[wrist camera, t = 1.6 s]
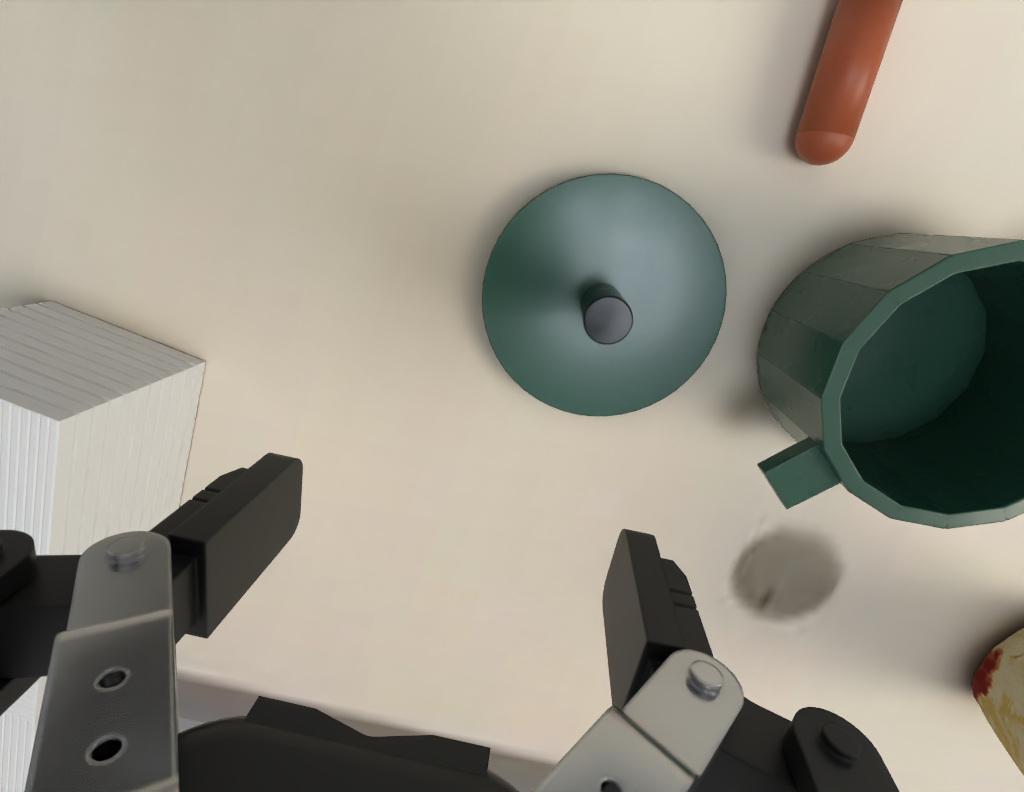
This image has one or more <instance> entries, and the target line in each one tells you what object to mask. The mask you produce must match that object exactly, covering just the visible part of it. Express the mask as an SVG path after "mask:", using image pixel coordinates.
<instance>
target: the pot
mask: <svg viewBox="0 0 1024 792" xmlns="http://www.w3.org/2000/svg"><path fill="white" fill-rule="evenodd" d="M757 373H758V379H759V385H760V388H761V391H762V394H763V397H764V399H765V401H766V403H767V405H768V407H769V408H770V410H771V411H772V412H773V414H774V415H775V417H776V418H777V419H778V421H779V423H780V424H781V426H782V427H783V428H784V429H785V430H786V431H787V432H788V433H789V434H790V435H791V436H792V437H793V438H794V439H795V440H796V441H797V442H798V443H796V444H794V445H792V446H790V447H788V448H787V449H785V450H783V451H781V452H779V453H777V454H775V455H773V456H771V457H769V458H768V459H766V460H764V461H762V462H760V463H758V464H757V465H758V467H759V468H760V470H761V471H762V473H763V475H764V476H765V478H766V479H767V481H768V482H769V484H770V486H771V487H772V489H773V490H774V492H775V493H776V495H777V497H778V498H779V500H780V501H781V502H782V504H783V505H784V506H785V508H786V509H789V508H791V507H793V506H795V505H797V504H799V503H801V502H803V501H805V500H807V499H809V498H811V497H813V496H815V495H817V494H819V493H821V492H823V491H825V490H827V489H829V488H831V487H833V486H835V485H837V484H839V483H840V484H842V485H843V486H844V487H845V488H846V489H847V490H848V491H849V492H850V493H852V494H853V495H855V496H856V497H858V498H859V499H861V500H862V501H864V502H866V503H867V504H869V505H870V506H872V507H873V508H875V509H876V510H878V511H879V512H881V513H883V514H884V515H886V516H887V517H889V518H892V519H896V520H901V521H907V522H912V523H917V524H922V525H928V526H933V527H938V528H943V529H944V528H946V529H949V528H957V527H964V526H972V525H979V524H987V523H995V522H1002V521H1005V520H1009V519H1011V518H1013V517H1016V516H1018V515H1020V514H1023V513H1024V240H1017V239H999V238H981V237H963V236H945V235H926V234H908V233H899V234H894V235H889V236H881V237H875V238H869V239H865V240H862V241H858V242H855V243H852V244H849V245H847V246H844V247H842V248H839V249H837V250H835V251H833V252H832V253H830V254H828V255H826V256H824V257H822V258H821V259H820V260H818V261H817V262H815V263H814V264H812V265H811V266H810V267H808V268H807V269H806V270H805V271H804V272H802V273H801V274H800V275H799V276H798V277H797V278H796V279H795V280H794V281H793V282H792V283H791V284H790V285H789V286H788V287H787V289H786V290H785V291H784V292H783V294H782V295H781V296H780V298H779V299H778V300H777V302H776V303H775V305H774V307H773V309H772V310H771V312H770V314H769V316H768V318H767V320H766V323H765V325H764V328H763V330H762V334H761V338H760V342H759V346H758V354H757Z"/></svg>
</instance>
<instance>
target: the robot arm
mask: <svg viewBox="0 0 1024 792" xmlns="http://www.w3.org/2000/svg"><path fill="white" fill-rule="evenodd" d="M302 474H303V465H302V461H301V460H300V459H297V458H293V457H288V456H283V455H278V454H274V453H268V454H266V455H265V456H263V457H262V458H261V459H260V460H259V461H257V462H256V463H255V464H254V465H252V466H251V467H250V468H249V469H246V468H240V469H237V470H234V471H232V472H229V473H227V474H224V475H222V476H220V477H219V478H217V479H216V480H215V481H213V482H212V483H211V484H209V485H208V486H207V487H206V488H205V490H202V491H200V492H199V493H198V494H196V495H195V496H194V497H193V499H192V500H189V501H187V502H186V503H185V504H183V505H182V506H181V507H180V508H178V509H177V510H176V511H174V512H173V513H172V514H170V515H169V516H168V517H167V518H165V519H164V520H163V521H161V522H160V523H159V524H157V525H156V526H155V527H154V528H152V529H151V530H150V531H132V532H125V533H120V534H116V535H112V536H110V537H107V538H104V539H102V540H100V541H98V542H96V543H95V544H93V545H91V546H90V547H89V548H87V549H86V550H85V551H84V552H83V554H82V555H36V551H35V545H34V540H33V538H32V537H31V536H30V535H29V534H27V533H24V532H21V531H17V530H0V716H1V715H2V714H3V713H4V712H5V711H6V710H7V709H8V708H9V707H10V706H11V705H12V704H13V703H15V702H16V701H17V700H18V699H19V698H20V697H21V696H22V695H23V694H24V693H25V692H26V691H27V690H28V689H29V688H30V687H31V686H32V685H33V684H34V683H35V682H36V681H37V680H38V679H39V678H40V677H43V676H47V680H46V685H45V690H44V695H43V700H42V705H41V710H40V715H39V720H38V725H37V730H36V735H35V740H34V745H33V750H32V755H31V760H30V765H29V770H28V775H27V780H26V785H25V790H24V792H519V791H518V790H517V789H516V788H514V787H513V786H512V785H511V784H510V783H509V782H507V781H506V780H504V779H503V778H502V777H500V776H499V775H497V774H496V773H494V772H492V771H490V770H488V761H489V754H490V748H488V747H484V746H479V745H475V744H471V743H466V742H462V741H457V740H453V739H448V738H444V737H439V736H435V735H420V736H387V737H370V736H366V735H364V734H362V733H360V732H358V731H356V730H354V729H353V728H351V727H349V726H347V725H345V724H343V723H341V722H339V721H338V720H336V719H334V718H332V717H330V716H328V715H326V714H325V713H323V712H321V711H319V710H317V709H315V708H310V707H306V706H302V705H297V704H293V703H288V702H284V701H279V700H275V699H270V698H266V697H262V696H259V697H258V699H257V700H256V702H255V704H254V705H253V707H252V708H251V710H250V711H249V713H248V715H247V716H238V717H231V718H224V719H219V720H215V721H211V722H207V723H204V724H201V725H198V726H196V727H193V728H190V729H188V730H186V731H183V732H181V733H179V720H178V694H177V668H176V644H177V642H178V641H179V640H180V639H181V638H182V637H183V636H184V635H185V634H189V635H194V636H198V637H203V638H208V637H209V636H210V635H211V633H212V632H213V631H214V630H215V629H216V627H217V626H218V625H219V624H220V623H221V621H222V620H223V619H224V618H225V617H226V615H227V614H228V613H229V612H230V611H231V609H232V608H233V607H234V606H235V605H236V603H237V602H238V601H239V600H240V599H241V597H242V596H243V595H244V594H245V593H246V592H247V590H248V589H249V588H250V587H251V586H252V584H253V583H254V582H255V581H256V580H257V578H258V577H259V576H260V575H261V574H262V572H263V571H264V570H265V569H266V568H267V566H268V565H269V564H270V563H271V562H272V560H273V559H274V558H275V557H276V556H277V554H278V553H279V552H280V551H281V550H282V548H283V547H284V546H285V545H286V544H287V542H288V541H289V540H290V539H291V537H292V536H293V534H294V532H295V530H296V528H297V525H298V522H299V518H300V511H301V492H302ZM603 615H604V625H605V636H606V646H607V656H608V666H609V676H610V686H611V696H612V706H611V707H610V708H609V709H608V710H607V711H606V712H605V713H604V714H603V715H602V716H601V717H600V718H599V719H598V720H597V721H596V722H595V723H594V724H593V726H592V727H591V728H590V729H589V730H588V731H587V732H586V733H585V734H584V735H583V736H582V737H581V739H580V740H579V741H578V742H577V743H576V744H575V745H574V746H573V747H572V748H571V749H570V750H569V752H568V753H567V754H566V755H565V756H564V757H563V758H562V759H561V760H560V761H559V762H558V763H557V765H556V766H555V767H554V768H553V769H552V770H551V771H550V772H549V773H548V774H547V775H546V776H545V778H544V779H543V780H542V781H541V782H540V783H539V784H538V785H537V786H536V787H535V788H534V789H533V791H532V792H899V790H898V788H897V786H896V784H895V783H894V781H893V779H892V777H891V775H890V773H889V771H888V769H887V767H886V765H885V764H884V762H883V760H882V758H881V756H880V754H879V753H878V751H877V749H876V748H875V747H874V745H873V744H872V743H871V742H870V741H869V739H868V738H867V737H866V736H865V735H864V734H863V733H862V732H861V731H860V730H858V729H857V728H856V727H855V726H853V725H852V724H851V723H849V722H848V721H846V720H845V719H844V718H842V717H840V716H838V715H836V714H834V713H832V712H830V711H827V710H824V709H821V708H816V707H806V708H802V709H800V710H799V711H798V712H796V714H795V716H794V718H793V720H792V721H790V720H787V719H785V718H783V717H781V716H779V715H777V714H775V713H773V712H771V711H769V710H767V709H765V708H763V707H761V706H759V705H757V704H755V703H753V702H751V701H750V700H748V699H747V698H745V697H744V693H743V690H742V687H741V685H740V683H739V681H738V680H737V678H736V677H735V675H734V674H733V673H732V672H731V671H730V670H729V669H728V668H727V667H726V666H725V665H724V664H722V663H721V662H720V661H718V660H717V659H715V658H714V657H713V654H712V651H711V648H710V645H709V642H708V639H707V636H706V633H705V630H704V627H703V624H702V621H701V619H700V616H699V613H698V610H696V604H695V601H694V598H693V596H692V592H691V589H690V586H689V583H688V580H687V577H686V576H685V574H684V573H683V572H682V571H681V570H680V568H679V567H678V566H677V565H676V564H675V562H674V561H673V560H668V559H663V558H661V557H660V553H659V550H658V546H657V543H656V539H655V537H654V535H651V534H646V533H641V532H637V531H632V530H627V529H623V530H622V531H621V533H620V535H619V538H618V541H617V544H616V548H615V551H614V554H613V558H612V561H611V564H610V567H609V571H608V574H607V577H606V581H605V585H604V591H603Z"/></svg>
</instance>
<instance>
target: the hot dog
mask: <svg viewBox="0 0 1024 792" xmlns="http://www.w3.org/2000/svg"><path fill="white" fill-rule="evenodd" d="M902 1H903V0H838V3H837V6H836V10H835V13H834V16H833V19H832V22H831V26H830V29H829V32H828V35H827V38H826V41H825V45H824V48H823V51H822V54H821V57H820V61H819V64H818V67H817V70H816V73H815V76H814V80H813V83H812V86H811V89H810V92H809V96H808V99H807V102H806V105H805V108H804V111H803V115H802V118H801V121H800V124H799V127H798V130H797V134H796V138H795V147H796V151H797V153H798V155H799V156H800V158H801V159H802V160H804V161H805V162H807V163H809V164H812V165H826V164H829V163H832V162H834V161H836V160H838V159H839V158H840V157H842V156H843V155H844V154H845V153H846V152H847V151H848V150H849V148H850V147H851V145H852V143H853V141H854V138H855V135H856V133H857V130H858V127H859V124H860V121H861V118H862V115H863V113H864V110H865V107H866V104H867V101H868V98H869V95H870V93H871V90H872V87H873V84H874V81H875V78H876V75H877V72H878V70H879V67H880V64H881V61H882V58H883V55H884V52H885V50H886V47H887V44H888V41H889V38H890V35H891V32H892V30H893V27H894V24H895V21H896V18H897V15H898V12H899V10H900V7H901V4H902Z"/></svg>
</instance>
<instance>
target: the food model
mask: <svg viewBox="0 0 1024 792" xmlns="http://www.w3.org/2000/svg"><path fill="white" fill-rule="evenodd" d="M971 686H972V691H973V696H974V698H975V699H976V701H977V702H978V704H979V706H980V708H981V710H982V711H983V713H984V715H985V717H986V719H987V721H988V722H989V724H990V725H991V727H992V729H993V730H994V732H995V734H996V735H997V737H998V738H999V740H1000V741H1001V743H1002V744H1003V746H1004V747H1005V749H1006V750H1007V752H1008V753H1009V755H1010V756H1011V758H1012V759H1013V761H1014V762H1015V764H1016V765H1017V767H1018V768H1019V769H1020V771H1021V772H1022V774H1023V775H1024V628H1022V629H1021V630H1019V631H1017V632H1016V633H1014V634H1013V635H1011V636H1010V637H1008V638H1007V639H1005V640H1004V641H1003V642H1001V643H1000V644H999V645H997V646H996V647H995V648H994V649H993V650H992V651H991V652H990V653H989V654H988V655H987V656H986V658H985V659H984V660H983V661H982V663H981V664H980V666H979V667H978V668H977V670H976V672H975V673H974V676H973V679H972V682H971Z"/></svg>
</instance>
